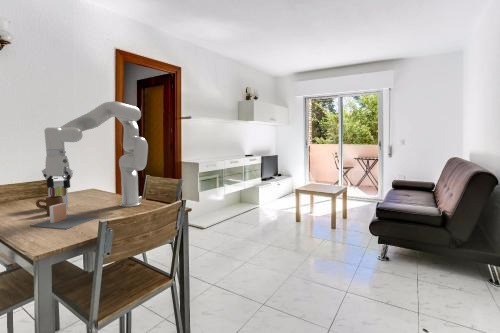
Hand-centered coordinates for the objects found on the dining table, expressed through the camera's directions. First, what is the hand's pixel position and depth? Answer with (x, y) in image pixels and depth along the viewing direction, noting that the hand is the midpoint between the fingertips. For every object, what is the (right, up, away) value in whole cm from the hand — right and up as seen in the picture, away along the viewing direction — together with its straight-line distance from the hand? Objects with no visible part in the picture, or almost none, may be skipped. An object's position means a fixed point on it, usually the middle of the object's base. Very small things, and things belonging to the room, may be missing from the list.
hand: (58, 187), depth 140 cm
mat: (+3, -17, 0) cm, 17 cm away
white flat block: (-1, -17, +1) cm, 17 cm away
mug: (-13, -16, +13) cm, 24 cm away
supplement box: (-20, -14, +30) cm, 38 cm away
